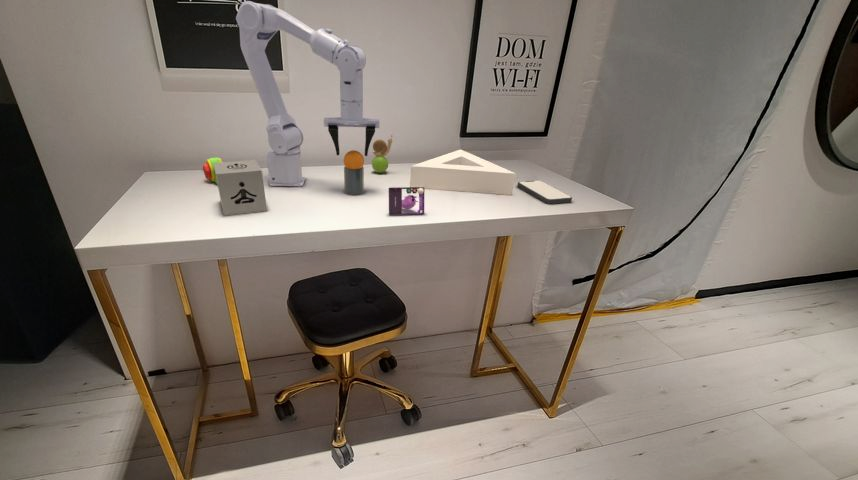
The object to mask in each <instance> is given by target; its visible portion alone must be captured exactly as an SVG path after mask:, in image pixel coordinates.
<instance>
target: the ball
mask: <svg viewBox="0 0 858 480" xmlns="http://www.w3.org/2000/svg"><path fill="white" fill-rule="evenodd" d="M364 164H365V158H364V155H363V154H362V153H361V152H360V151H358V150H355V149H353V150H349V151H347V152H346V153H345V155H344V157H343V165H344V167H346V168H347V169H350V170H359V169H361V168H362V167H364Z"/></svg>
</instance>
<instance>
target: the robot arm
mask: <svg viewBox="0 0 858 480" xmlns="http://www.w3.org/2000/svg"><path fill="white" fill-rule="evenodd" d="M235 20H236V22H237V25H238V28H239V43H240V44H239V45H240V49H241V52H242V55H243V57H244V58H243V59H244V60H245V63H246V65H247V68H248V70H249V73H250V75H251V78H252V80H253V83H254V85H255V88H256V91H257V94H258V96H259V99H260V100H261V103H262V105H263V109H264V111H265V114H266V116H267V119H268V120H267V124H266V127H265V129H266V132H267V136H268V137H267V138H268V145H269V147H270V149H271V150H272V151H268V152H267V154H266V165H267V171H268V179H269V180H268V181H269V186H270V187H303V186H304V183H305V180H306V176H303V170H302V169H303V167H302V154H301V145H302V144H303V142H304V133H303V131H302V129H301V128H300V127H299V126H298V124H297V123H296V121H295V118H294V117H292V115H290V114H289V113H288V111H287V107H286V105H285V102H284V99H283V96H282V94H281V91H280V88H279V87H278V83H277V81H276V77H275V76H274V73H273V69H272V67H271V65H270V62H269V59H268V56H267V54H266V48H267V46H268V43H269V42H270V40H271V39H272V38H273V37H274V36H275V35H276V34H277V32H279V31H284V32H285V33H287V34H289V35H292V36H293V37H295V38H297V39H298V40H301V41H302V42H305V43H306V44H308V45H309V46H310V48H311V51H312V53H313V54H315V55H316V56H318V57H320V58H322V59H324V60H325V61H326V62H329V63H331V64H332V65H334V66H336V68H337V70H338V71H339V86H340V87H339V93H340V95H339V96H340V97H339V98H340V99H339V100H340V103H339V104H340V117H339V116H338V117H323V127H324V128H327V131H328V133H329V135H330V138H331V140H332V143H333V144H334V148H335V153H336V156H340V144H339V142H340V141H339V128H341V127H342V128H344V127H345V128H365V143H364V157H368V154H369V148H370V145H371V142H372V140H373V137H374V135H375V133H376V129H380V119H379V118H366V117H364V115H363V114H364V113H363V112H364V109H363V108H364V80H363V79H364V74H363V73H364V68H365V67H366V63H367V57H366V53H365V52H364V50H363V49H362V48H360V46H359V45H350V41H349V40H348V39H341V38H340V37H338V36H336V35H335V34H333V30H332V29H330V28H325V29H324V28H319V29H317V30H315V29H313V28H311V26H309V25H307V24H306V23H304V22H302V21H301V20H299V19H298V18H296V17H295V16H293V15H291V14H290V13H288V12H287V11H284V10H283V9H281V8H278V7H275V6H273V5H272V4H268V3H265V4H264V3H258V2H254V1H251V0H246V1H244V2H242V3H241V4H240V5H239V8H238V11H237V14H236V16H235Z"/></svg>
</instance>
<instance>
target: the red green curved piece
mask: <svg viewBox="0 0 858 480" xmlns="http://www.w3.org/2000/svg"><path fill="white" fill-rule="evenodd" d="M218 162H223V160H222V159H221V158H220V157H209V158H208V159H206V160H205V163H204V164H202V171H203V174H204V176H205V178H206V179H208V180H210V181H211V182H212V183H213V182H214V183H215V184H216V185H217V186H218V184H217V179H216V174H215V169H214V164H213V163H218Z"/></svg>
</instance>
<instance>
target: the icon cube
mask: <svg viewBox="0 0 858 480" xmlns="http://www.w3.org/2000/svg"><path fill="white" fill-rule="evenodd" d="M213 164H214V169H215V174H216V179H217V184H218V185H217V184H216V185H217V190H218V194H219V200H220V204H221V208H222V213H223V216H224V217H226V216H235V215H242V214H251V213H259V212H261V213H262V212H267V211H268V206H267V199H266V191H265V184H264V177H263V170H262V168H261V167H260V165H259V163H258V162H257V160H256V159H250V160H249V159H248V160H236V161H233V160H232V161H222V162H218V163H213Z"/></svg>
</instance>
